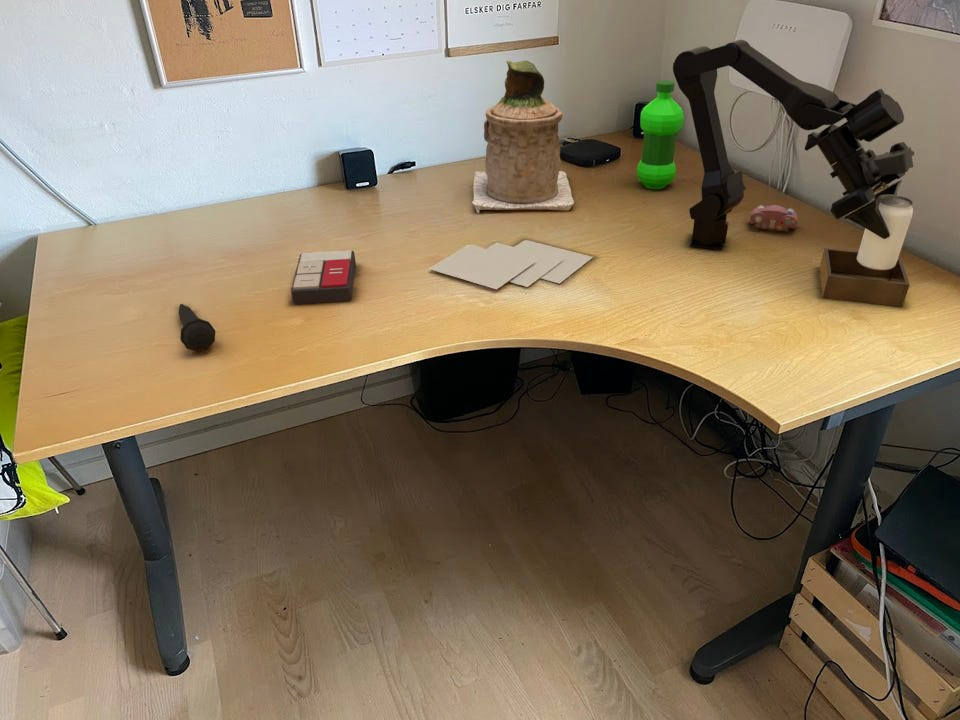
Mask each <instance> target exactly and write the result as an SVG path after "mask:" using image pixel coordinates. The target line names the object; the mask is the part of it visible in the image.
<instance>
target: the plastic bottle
mask: <svg viewBox="0 0 960 720" xmlns="http://www.w3.org/2000/svg"><path fill="white" fill-rule="evenodd" d="M675 83H676V82H675V81H672V80H658V81H656V83H655V92H657V94H656V95H657V96H656V97H655V98H654V99H653V100H651V101H649V103H647V104H646V105H645V106H644V107H642V109H641V112H640V119H639V120H640V122H639V123H640V124H639V125H640V129H641V130H642V131H643V142H642V154H641V159H640V161H639V162H638V164H637V166H636V167H637V168H636V177H637V179H638V181H639V182H640V183H641V184H642V185H644V187H645V188H647V189H651V190H662V189H665V187H666V186H668V185H669V184H671V183H672V182H673V181H674V179H675V177H676V173H677V169H676V164H675V160H674V157H675V150H676V140H677V133H679V131H681V130H682V128H683V125H684V120H685V117H684V111H683V108H682V107H681V106H680V105H679V104H678V102H676V101H675V100H674V99H673V98H672V93H673V92H675Z"/></svg>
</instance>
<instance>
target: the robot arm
mask: <svg viewBox="0 0 960 720" xmlns="http://www.w3.org/2000/svg"><path fill="white" fill-rule="evenodd" d="M725 67H731V68H732V69H733V70H734V71H736V72H737V73H739V74H740V75H742V76H743V77H745V78H746V79H748V80H749V81H751V82H752V83H753V84H755V85H756V86H757V87H759V88H760V89H761V90H763V91H764V92H766V93H767V94H769V95H770V96H771V97H773V98H774V99H775V100H777V101H778V102H779V103H780V104H781V105H782V107H783V109H784V111H785V113H786V114H787V116H788V117H789V118H790V119H791V120H792V121H793V122H794V123H795V125H797V126H798V127H799V128H800V129H802V130H804V131H808V132H809V131H812V132H810V133H808V134H807V140H806V142H805V146H804V150H805V151H809V150H811V149H813V148H814V147H818V149H819V150H820V152H821V153H822V155H823V156H824V158H825V160H826V162H827V163H828V164H829V166H830V168H831V169H832V172H830V173H829V175H830V177H831V178H832V179H834V178H836V177H837V178H838V180H839V182H840V184H841V185H842V186H843V188H844V190H845V191H843V192H842V195H843V196H841V197H840V198H838V199H837V200H835V201H834V202H832V203H831V207H830V212H831V214H832V216H833V217H834V219H835V220H840V219H842V218H843V219H844V220H847V219H848V220H849V221H851V222H853V223H855V224H857V225H859V226H860V227H862V228H864V229H865V228H866V229H868V230H869V231H871V232H873V233H874V234H876V235H878V236H879V237H881V238H883V239H886V238H888V237H890V233H889V231H888V228H887V226H886V224H885V222H884V219H883V217H882V215H881V213H880V211H879V204H880V200H881V195H898V191H899V188H900V186H901V184H902V182H903V179H901V178H903V177H904V176H905V175H906V173H907V172H909V169H912V168H913V167H914V161H913V157H914V156H915V151H913V150H912V147H911V146H910V147H909V146H908V144H906V142H904V141H901V142H897V143H894V144H892V145H891V147H890V149H889V151H888V152H887V151H886V152H884V153H881V154H877V155H876V153H875V151H874V150H872V149H870V148H869V149H868V150H866V149H865V148H864V147H863V145H862V144H861V143H862V141H865V142H867V143H871V142H873V141H875V140H876V139H878V138H879V137H881V136H882V135H884V134H886V133H888V132H889V131H891V130H892V129H894V128H897V127H898V126H899V125H901V124H902V123H904V121H905V115H904V112H903V109H902V107H901V105H900V104H899V102H898V101H897V100H895V99H894V98H893V97H892V96H891V95H889V94H887V93H885V92H884V90H883V88H878V89H876V90H875V91H873V92H871V93H870V94H869V95H868V96H867V97H866V98H865V99H864V100H862V101H860V102H859V103H857V104H856V103H853V102H850V101H847V100H843V99H841V98H840V97H839V96H838V95H837V94H836V92H833V91H832V90H830V89H827V88H826V87H824V86H823V87H822V86H821V85H818V84H814V83H810V82H806V81H803V80H802V79H799V78H798V77H796V76H794V75H793V74H792V73H790V72H789V71H788V70H786V69H784V68H783V67H781V66H780V65H779V64H778V63H776V62H774V61H773V60H771V59H770V58H769V57H767V56H765V55H764V54H763V53H762V52H760V51H759V50H757V49H756V48H754V47H753V46H751V44H750V43H749V42H748V41H747V40H745V39H736V40H734V41H731V42H728V43H726V44H724V45H721V46H717V47H714V48H709V47H708V46H705V45H702V46H696V47H694V48H691V49H687V50H684V51H681V52H680V53H679V54H678V55H677V56H676V57H675V59H674V61H673V62H672V73H673V76H674V79H675V81H676V83H677V86H678V89H679V90H680V91H681V92H682V94H683V95H684V96H685V98H686V99H687V100H688V103H689V108H690V112H691V116H692V121H693V125H694V131H695V134H696V140H697V143H698V148H699V149H698V150H699V153H700V158H701V163H702V167H703V178H702V182H701V188H700V190H701V191H700V193H701V200H700V201H699V202H697V203H695V205H693V206H691V207H689V208H688V210H689V211H688V212H689V218H690V219H691V220H693V225H692V226H693V227H692V233H691V238H690V242H689V247H691V248H698V249H706V250H707V249H709V250H717V251H718V250H719V251H721V250H722V249H723V245H726V241H727V235H728V228H729V221H727V216H728V214H730V213H731V212H732V211H733V209H734V208H735V207H738V206H739V205H740V204H741V202H742V201H743V199H744V196H745V195H744V194H745V191H746V190H747V187H746V185H745V184H744V178H743V177H744V176H743V172H742V170H737V171H735V170H734V169H733V168H732V166H731V165H730V163H729V159H728V153H727V149H726V144H725V139H724V134H723V129H722V124H721V120H720V115H719V110H718V106H717V100H716V96H715V91H716V86H717V80H718V69H721V68H725ZM844 119H845V120H846V122H844V123H842V124H841V125H839V126H838V125H836V124H838V123H839V122H841V121H842V120H844ZM823 126H827V127H825V128H824V129H822V130H821V131H819V132H815V131H814V130H817V129H820V128H822V127H823ZM899 179H900V180H899ZM895 180H897V181H896V182H895V183H894V181H895ZM879 196H880V197H879Z"/></svg>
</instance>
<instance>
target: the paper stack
mask: <svg viewBox="0 0 960 720" xmlns="http://www.w3.org/2000/svg"><path fill="white" fill-rule="evenodd" d="M592 259H594V256H591V255H587V254H583V253H579V252H575V251H571V250H568V249H563V248H559V247H555V246H552V245H548V244H544V243H540V242H537V241H533V240H529V239H524V240H523V241H521V242H519V243H517V244H516V245H515V246H513V245H512V246H511V245H509V244H505V243H502V242H501V243H500V242H495V243H493V244H491V245H490V246H488V247H487V248H485V247H481V246H477V245H474V244H470V243H468V244H467V245H465V246H464V247H462V248H460V249H458V250H456V251H455V252H453V253H452V254H450V255H449V256H447V257H445V258H444V259H441V260H440V261H438V262H437V263H435V264H434V265H432V266H430V267H429V268H428V270H431V271H434V272H437V273H441V274H444V275H446V276H447V275H448V276H451V277H454V278H457V279H461V280H464V281H467V282H470V283H474V284H478V285H480V286H483V287H487V288H489V289H493V290H498V289H500V288H501V287H502V286H504V285H505V284H506V283H508V282H509V283H512V284H514V285H518V286H522V287H526V288H528V287H530V286H531V285H532V284H534V283H535V282H536V281H538V280H539V279H541V280H545V281H548V282H552V283H556V284H561V283H562V282H564V281H565V280H567V279H568V278H569V277H570V276H571V275H572V274H574V273H575V272H577V271H578V270H580V268H582V267H583V266H584V265H586V264H587V263H588V262H590V261H591V260H592Z"/></svg>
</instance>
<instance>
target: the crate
mask: <svg viewBox="0 0 960 720" xmlns="http://www.w3.org/2000/svg"><path fill="white" fill-rule="evenodd" d="M858 251H859V250H857V251H856V250H849V249H848V250H847V249H846V250H845V249H837V248H828V247H825V248H824V249H823V253H822V257H821V261H820V264H819V269H818V271H819V279H820V288H821V297H822V298H825V299H829V300H830V299H831V300H839V301H847V302H856V303H863V304H864V303H865V304H873V305H881V306H889V307H897V308H898V307H899V308H903V307H904V303H905V300H906V298H907V294H908V291H909V289H910V282H909V278H908V275H907V272H906V269H905V266H904V263H903V259H902V257H901V255H899V257H898V260H897V263H896V265H895V267H893V268H891V269H889V270H873V269H869V268H866V267H864V266H862V265H860V264H859V263H858V261H857V255H858ZM832 272H833V273H840V274H841V273H842V274H850V275H858V276H859V275H861V276H869V277H878V278H879V277H880V278H888V279H890V280H882V279H872V278H863V277H856V276H855V277H854V276H846V275H837V274H836V275H835V274H832Z"/></svg>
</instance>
